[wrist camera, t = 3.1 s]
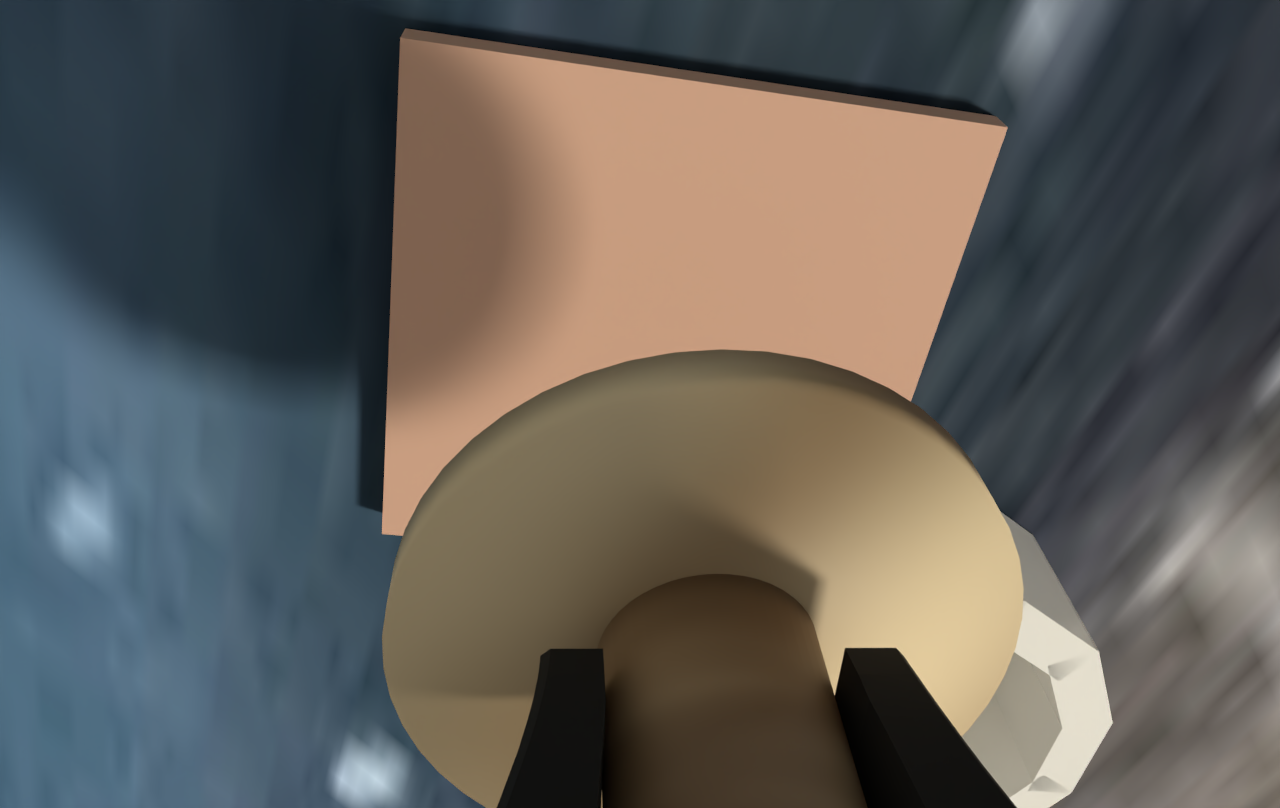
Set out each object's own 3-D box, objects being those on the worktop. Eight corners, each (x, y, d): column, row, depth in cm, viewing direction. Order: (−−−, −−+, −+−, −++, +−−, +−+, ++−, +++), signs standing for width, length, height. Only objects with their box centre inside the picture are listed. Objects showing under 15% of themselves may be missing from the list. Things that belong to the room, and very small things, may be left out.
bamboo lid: (1095, 387, 12) (1328, 666, 9) (898, 816, 17) (998, 1128, 13) (403, 312, 11) (333, 598, 8) (381, 794, 15) (327, 1131, 12)
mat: (995, 116, 18) (1007, 127, 18) (843, 555, 23) (849, 574, 23) (405, 27, 17) (400, 37, 16) (386, 515, 22) (382, 533, 22)
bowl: (1100, 499, 23) (1177, 613, 20) (973, 753, 27) (1022, 877, 24) (722, 461, 22) (745, 577, 19) (655, 733, 26) (665, 860, 23)
